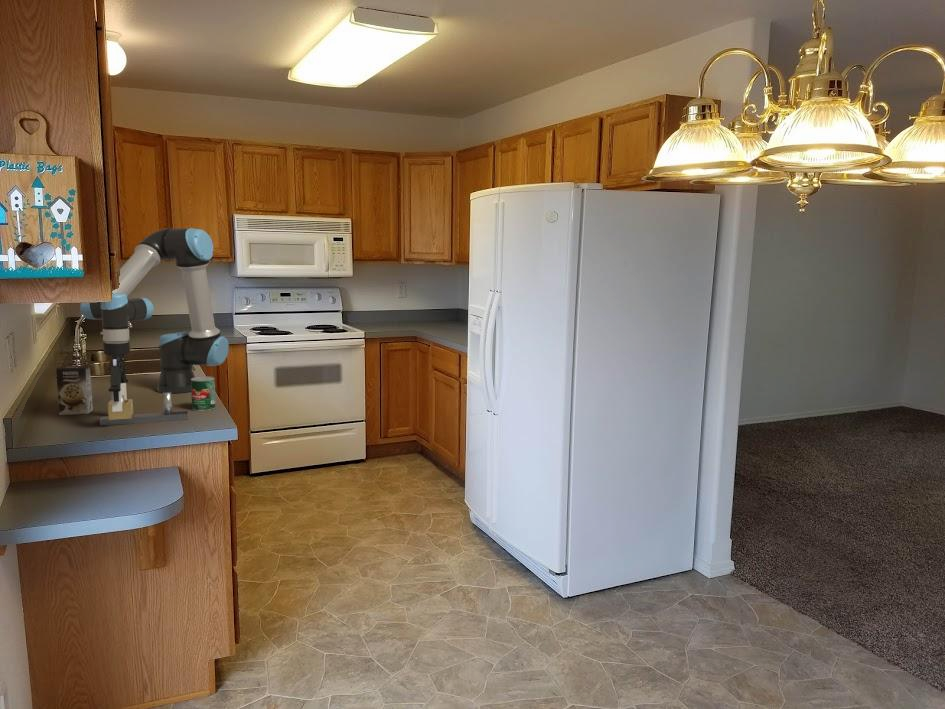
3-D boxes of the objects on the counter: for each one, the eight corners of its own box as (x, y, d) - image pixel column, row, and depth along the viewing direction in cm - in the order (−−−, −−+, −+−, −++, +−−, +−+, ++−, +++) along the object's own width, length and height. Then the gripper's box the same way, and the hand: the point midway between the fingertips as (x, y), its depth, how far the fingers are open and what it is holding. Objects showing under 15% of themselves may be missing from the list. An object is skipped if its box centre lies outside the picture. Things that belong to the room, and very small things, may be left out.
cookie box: (58, 415, 228) (54, 368, 226) (64, 411, 235) (60, 365, 232) (88, 414, 231) (85, 367, 228) (93, 409, 237) (90, 364, 235)
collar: (111, 415, 222) (110, 400, 221) (133, 413, 224) (132, 399, 223) (108, 419, 216) (107, 404, 215) (131, 418, 218) (130, 403, 217)
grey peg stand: (101, 422, 220) (99, 395, 218) (188, 416, 229) (187, 390, 228) (100, 425, 216) (98, 398, 215) (188, 419, 226) (186, 393, 224)
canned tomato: (192, 412, 236) (190, 381, 234) (192, 407, 243) (190, 377, 242) (216, 410, 239) (215, 379, 237) (215, 405, 246) (214, 375, 245)
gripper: (108, 337, 226) (111, 400, 229) (97, 347, 203) (101, 415, 206) (133, 337, 229) (136, 398, 232) (125, 346, 206) (128, 414, 209)
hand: (119, 407), depth 219 cm, fingers open, 13 cm apart
